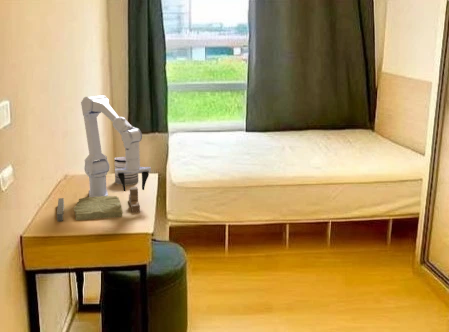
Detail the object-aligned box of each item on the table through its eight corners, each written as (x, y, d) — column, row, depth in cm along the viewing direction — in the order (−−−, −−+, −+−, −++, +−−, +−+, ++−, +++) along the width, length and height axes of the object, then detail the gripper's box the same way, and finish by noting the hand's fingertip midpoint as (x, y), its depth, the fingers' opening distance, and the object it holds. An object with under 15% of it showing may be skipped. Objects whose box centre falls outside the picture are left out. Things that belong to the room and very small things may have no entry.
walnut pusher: (129, 201, 240) (128, 183, 238) (136, 200, 241) (135, 182, 239) (132, 213, 225) (131, 194, 223) (139, 212, 226) (139, 193, 224)
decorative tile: (118, 202, 239) (118, 194, 238) (123, 217, 221) (122, 209, 220) (74, 205, 234) (73, 197, 234) (74, 221, 216) (74, 213, 215)
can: (109, 182, 266) (108, 158, 263) (126, 177, 275) (125, 153, 272) (127, 186, 260) (127, 161, 257) (143, 181, 269) (143, 156, 266)
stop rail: (59, 205, 233) (58, 198, 232) (63, 204, 233) (63, 198, 233) (57, 221, 214) (56, 214, 213) (62, 221, 215) (62, 213, 214)
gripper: (115, 161, 222) (116, 194, 225) (151, 159, 226) (152, 191, 229) (114, 157, 229) (115, 189, 232) (149, 155, 232) (150, 186, 236)
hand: (133, 190), depth 231 cm, fingers open, 7 cm apart
